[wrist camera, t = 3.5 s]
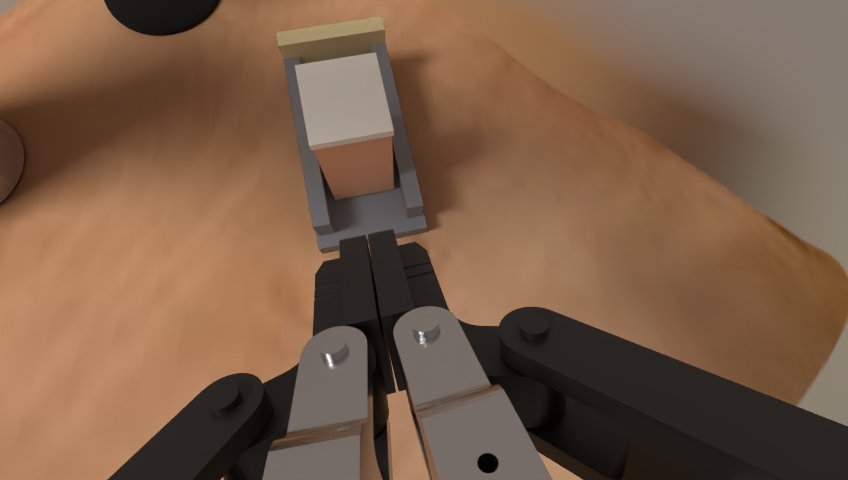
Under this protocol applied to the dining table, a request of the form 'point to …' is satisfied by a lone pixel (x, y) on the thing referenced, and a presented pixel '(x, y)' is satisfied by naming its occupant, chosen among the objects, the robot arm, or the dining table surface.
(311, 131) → the block
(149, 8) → the wine glass
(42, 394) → the dining table surface
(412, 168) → the key track
